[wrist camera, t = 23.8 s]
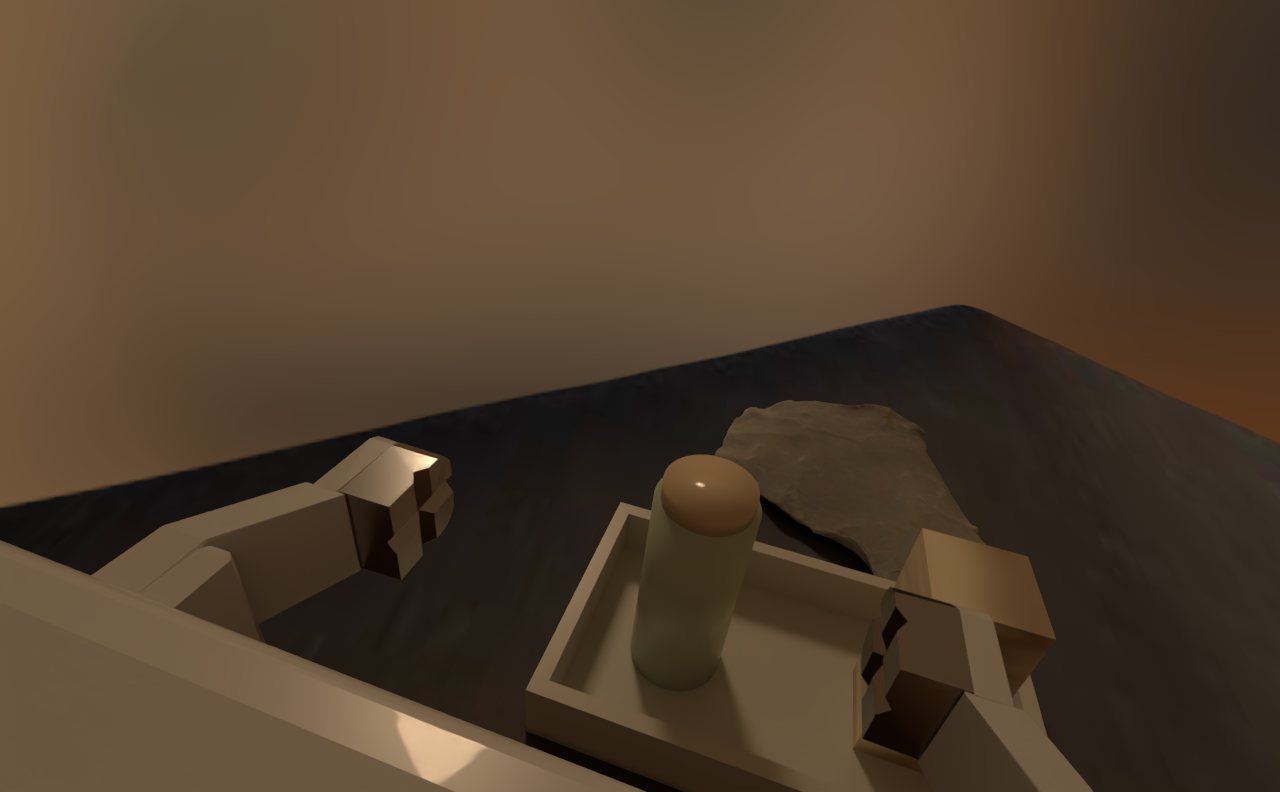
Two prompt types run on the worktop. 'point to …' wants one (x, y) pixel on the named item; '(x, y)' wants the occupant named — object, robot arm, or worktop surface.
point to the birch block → (981, 586)
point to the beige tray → (723, 679)
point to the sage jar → (693, 569)
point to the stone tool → (848, 476)
